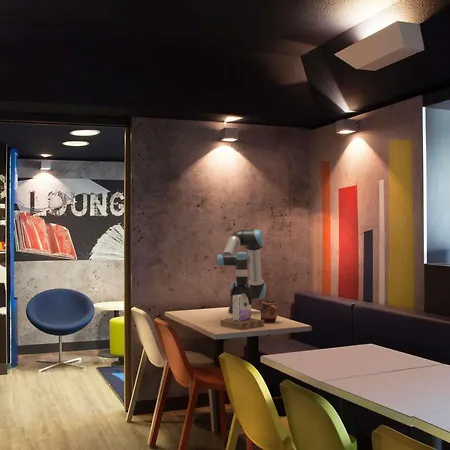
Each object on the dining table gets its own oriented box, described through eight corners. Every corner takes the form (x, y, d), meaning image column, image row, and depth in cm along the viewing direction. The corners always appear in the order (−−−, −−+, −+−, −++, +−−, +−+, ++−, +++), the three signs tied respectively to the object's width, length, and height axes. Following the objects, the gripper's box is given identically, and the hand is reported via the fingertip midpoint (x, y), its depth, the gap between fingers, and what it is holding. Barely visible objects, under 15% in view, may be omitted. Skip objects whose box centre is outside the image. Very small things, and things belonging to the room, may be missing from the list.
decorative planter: (285, 323, 399) (285, 302, 399) (269, 325, 394) (269, 303, 394) (269, 319, 417) (269, 299, 417) (254, 321, 412) (254, 300, 412)
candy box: (243, 318, 398) (243, 293, 398) (251, 318, 395) (251, 293, 395) (232, 320, 387) (231, 295, 387) (239, 321, 384) (239, 295, 384)
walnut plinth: (243, 322, 405) (243, 316, 405) (264, 326, 390) (263, 320, 390) (220, 326, 392) (220, 319, 392) (241, 329, 377) (241, 323, 377)
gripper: (224, 275, 398) (225, 307, 398) (250, 277, 379) (250, 311, 379) (233, 274, 403) (233, 306, 403) (259, 276, 384) (259, 310, 384)
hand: (242, 308), depth 391 cm, fingers open, 13 cm apart
